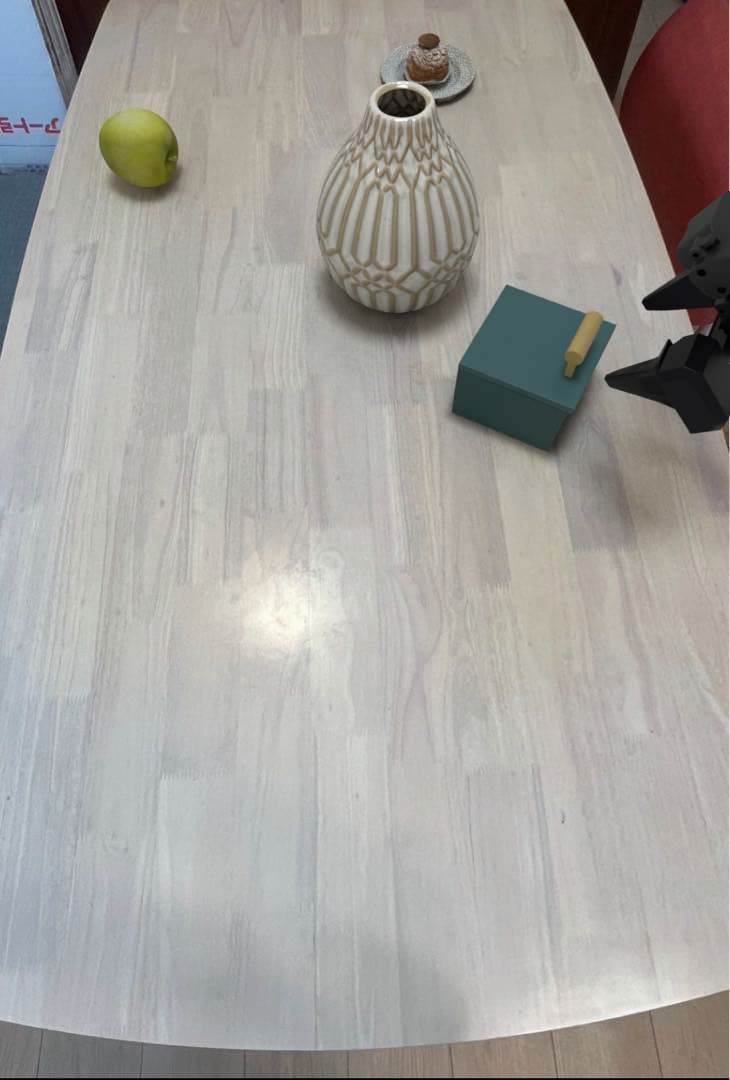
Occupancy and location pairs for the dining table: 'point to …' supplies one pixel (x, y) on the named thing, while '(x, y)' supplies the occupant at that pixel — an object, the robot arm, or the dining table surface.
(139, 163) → the apple
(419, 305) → the vase
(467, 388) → the teal open box
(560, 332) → the box lid
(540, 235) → the dining table surface
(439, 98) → the pastry
